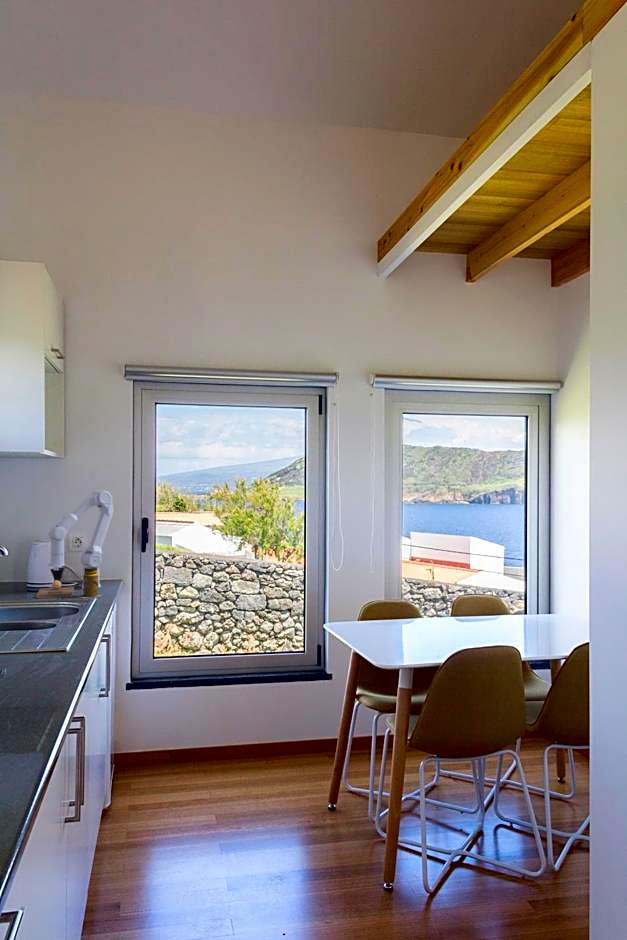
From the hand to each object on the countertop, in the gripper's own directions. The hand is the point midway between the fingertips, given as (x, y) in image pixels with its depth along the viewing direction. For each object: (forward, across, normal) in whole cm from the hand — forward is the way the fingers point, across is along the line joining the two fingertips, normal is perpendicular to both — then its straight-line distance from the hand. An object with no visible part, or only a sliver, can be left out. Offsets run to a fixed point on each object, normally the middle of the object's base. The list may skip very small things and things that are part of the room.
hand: (57, 584), depth 351 cm
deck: (+3, +10, 0) cm, 10 cm away
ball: (-1, +6, 0) cm, 6 cm away
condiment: (+3, +17, +14) cm, 22 cm away
